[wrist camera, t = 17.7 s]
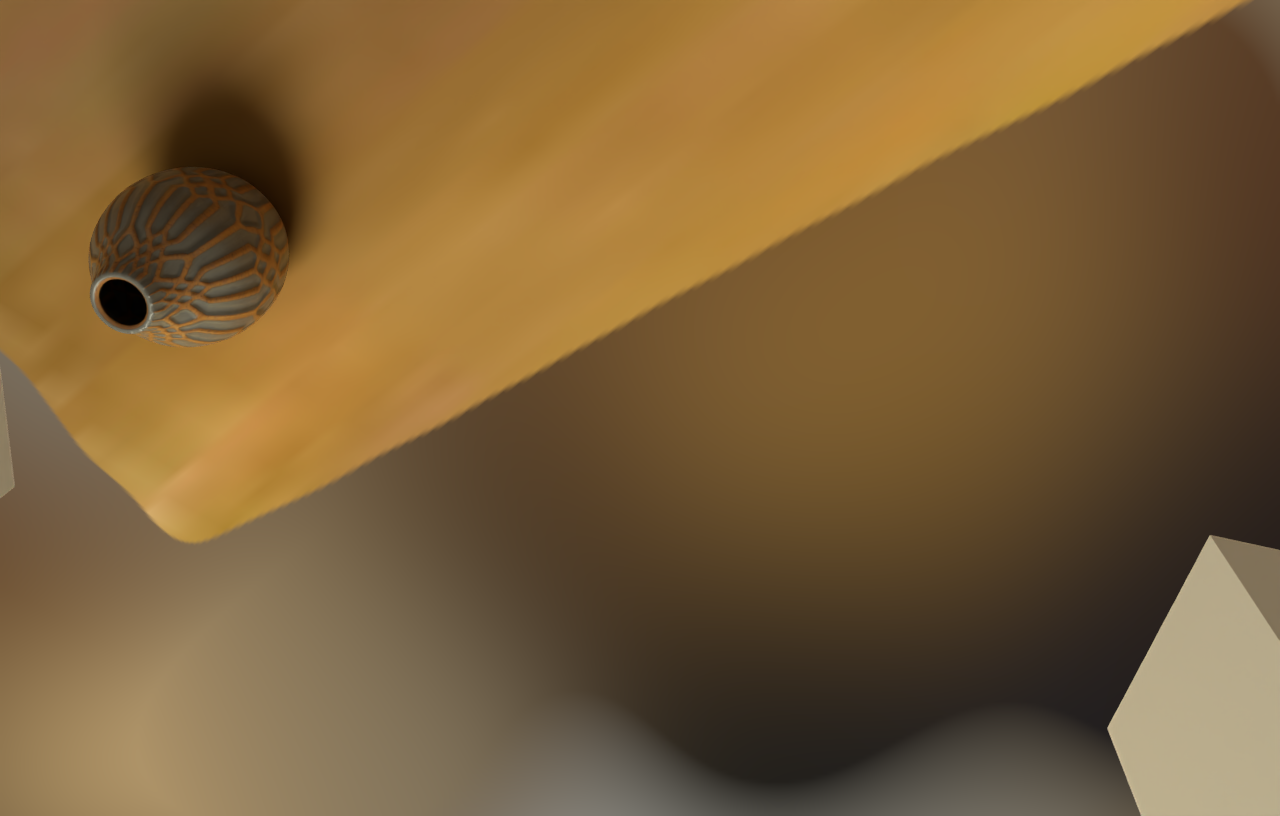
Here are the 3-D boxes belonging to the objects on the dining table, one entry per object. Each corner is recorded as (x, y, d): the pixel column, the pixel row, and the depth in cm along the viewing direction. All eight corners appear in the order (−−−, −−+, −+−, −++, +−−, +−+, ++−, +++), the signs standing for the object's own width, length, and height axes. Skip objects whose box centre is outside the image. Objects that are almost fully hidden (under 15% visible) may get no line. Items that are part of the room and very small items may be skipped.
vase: (289, 143, 43) (180, 202, 35) (328, 300, 46) (237, 386, 38) (136, 157, 44) (-2, 216, 36) (184, 309, 47) (67, 394, 39)
